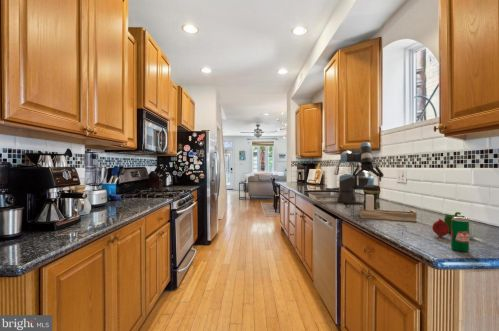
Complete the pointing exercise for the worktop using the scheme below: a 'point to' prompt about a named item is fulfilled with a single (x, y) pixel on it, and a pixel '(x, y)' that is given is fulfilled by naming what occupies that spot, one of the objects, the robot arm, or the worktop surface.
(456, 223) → the soda can
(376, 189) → the coffee jar
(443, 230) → the onion
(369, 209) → the slider
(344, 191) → the robot arm
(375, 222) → the worktop surface
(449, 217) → the bell pepper
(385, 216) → the track
